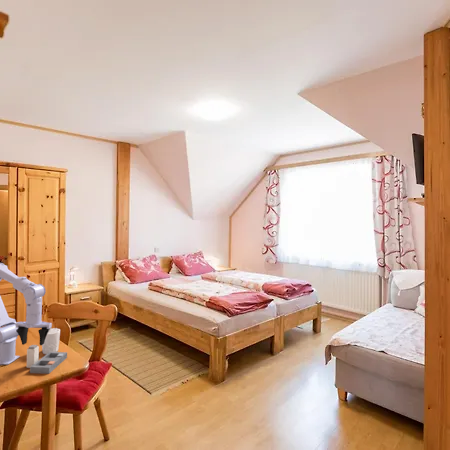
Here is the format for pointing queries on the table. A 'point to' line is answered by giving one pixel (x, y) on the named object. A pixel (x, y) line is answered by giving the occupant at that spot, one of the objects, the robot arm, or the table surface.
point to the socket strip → (48, 362)
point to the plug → (32, 355)
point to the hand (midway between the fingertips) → (33, 344)
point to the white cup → (51, 341)
